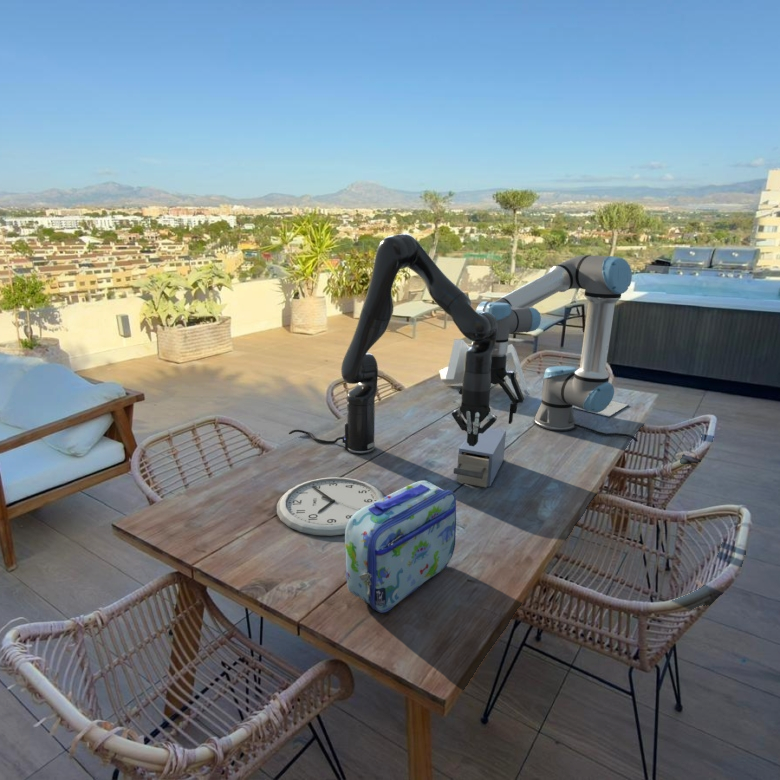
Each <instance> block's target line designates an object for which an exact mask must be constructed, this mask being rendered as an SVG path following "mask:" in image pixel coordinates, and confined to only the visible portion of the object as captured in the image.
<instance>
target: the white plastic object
mask: <svg viewBox="0 0 780 780" xmlns="http://www.w3.org/2000/svg"><path fill="white" fill-rule="evenodd" d="M470 347H471V346H469V345H468V343H466V342H465V340H464V339H463V338H460V339H458V338H454V340H453V344H452V349H451V353H450V357H449V362H448V366H446V367H444V368H442V369H440V370H439V371H438V372H439V376H440V381H442V383H443V384H444V385H445V386H449V385H458V384H463V375H464V370H465V369H464V368H465V355H466V352H467V350H468V349H469V348H470ZM505 355H506V356H507V359H506V371H507V372H511V371H510V369H509V365H508V361H510V360H513V363H514V366H515V369H516V374H517V376H518V380H519V382H520V385H521V390H522V391H523V393H524V395H525V396H526V397H528V396H531V395H530V390H529V388H528V387H529V386H528V384H527V381H526V378H525V375H524V371H523V369H522V368H523V367H522V366H521V362H520V359H519V355H518V352H517V349H516V347H515V346H514V345H513V343H511V344H508V349H507V354H505ZM504 378H505V381H506V383H507V384H508V386H509V387H510V389H511V390H512V392H513V393H514V394H515V396H516V397H517V395H516V392H515V390H514V387H513V385H512V382H511V379H509V377H508V376H507V375H506V376H505V377H504ZM517 398H518V397H517Z"/></svg>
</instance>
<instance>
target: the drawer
mask: <svg viewBox="0 0 780 780" xmlns="http://www.w3.org/2000/svg"><path fill="white" fill-rule="evenodd" d="M488 468H489V457H488V456H483V455H477V454H472V453H466V452H464V453H463V454H459V453H458V455H457V466H456V467H454V468H453V474H454V475H456V482H457V483H462V484H467V485H471V486H476V487H481V488H487V487H488V486H487V481H488Z"/></svg>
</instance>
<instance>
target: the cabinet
mask: <svg viewBox="0 0 780 780" xmlns="http://www.w3.org/2000/svg"><path fill="white" fill-rule="evenodd" d="M473 430H474V429H473ZM506 435H507V430H506V429H499V428H492V427H489V428H488V429H487V430H486V431H485V432H484V433H483V434H481V433H479V435H478V442H477V444H476V445H475V446H469V444H468V443H467V437H466V438H465V439H464V441H463V442H462V444H461V445H460V447H458V455H459V454H463V453H464V452H466V453H472V454H477V455H483V456H488V457H489V468H488V481H487V487H491V486H492V484H493V482H494V480H495V477H496V476H497V474H498V472H499V470H500V468H501V466H502V464H503V462H504V458H505V447H506V437H507V436H506Z"/></svg>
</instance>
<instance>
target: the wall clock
mask: <svg viewBox="0 0 780 780" xmlns="http://www.w3.org/2000/svg"><path fill="white" fill-rule="evenodd" d="M384 497H386V495H385V494H384V493H383V492H382V491H381V490H380V489H379V488H377V487H376V486H374V485H372V484H371V483H369V482H365V481H362V480H359V479H355V478H349V477H338V476H337V477H335V476H333V477H332V476H331V477H322V478H317V479H312V480H307V481H305V482H302V483H299V484H297V485H295V486H293V487H292V488H290V489H288V490H287V491H286V492H285V493H284V494H283V495H281V496H280V498H279V499H278V502H277V503H276V515H277V517H278V518H279V520H280V521H281V522H282V523H283V524H285V525H286V526H287V527H288V528H290V529H293V530H295V531H297V532H299V533H303V534H308V535H312V536H327V537H328V536H329V537H331V536H332V537H333V536H342V535H345V531H346V527H347V524H348V522H349V520H350V518H351V517H352V515H353V514H354V513H355V512H357V511H358V510H360V509H362V508H364V507H366V506H368V505H370V504H372V503H374V502H376V501H378V500H380V499H382V498H384Z"/></svg>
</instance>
